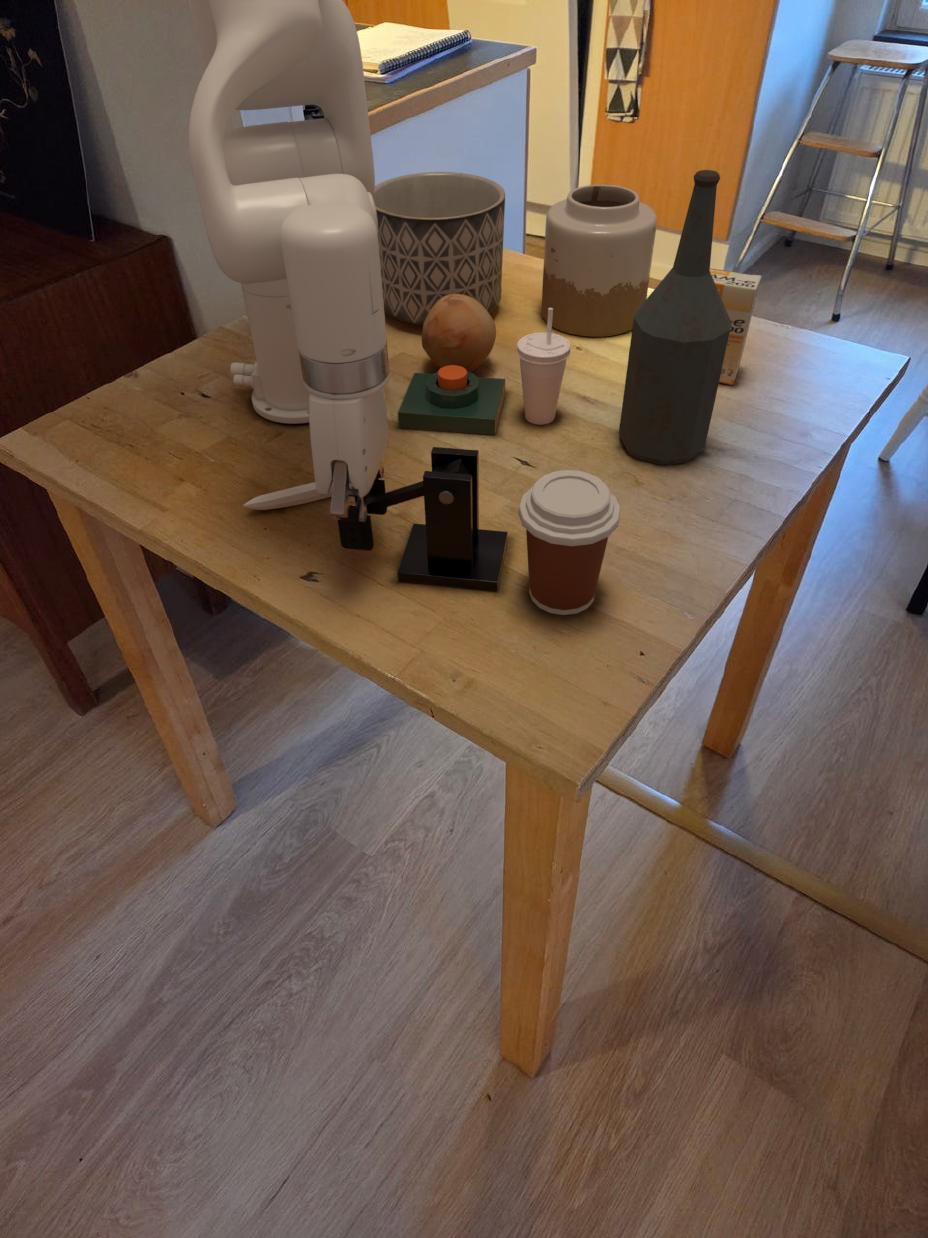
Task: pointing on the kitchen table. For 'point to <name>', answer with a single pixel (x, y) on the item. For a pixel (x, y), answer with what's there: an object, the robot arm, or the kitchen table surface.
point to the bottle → (678, 346)
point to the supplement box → (736, 315)
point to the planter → (439, 241)
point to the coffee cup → (567, 538)
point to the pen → (288, 497)
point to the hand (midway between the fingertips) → (364, 528)
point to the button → (452, 378)
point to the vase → (597, 260)
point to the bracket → (453, 531)
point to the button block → (452, 405)
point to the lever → (408, 489)
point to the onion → (458, 332)
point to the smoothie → (542, 372)
